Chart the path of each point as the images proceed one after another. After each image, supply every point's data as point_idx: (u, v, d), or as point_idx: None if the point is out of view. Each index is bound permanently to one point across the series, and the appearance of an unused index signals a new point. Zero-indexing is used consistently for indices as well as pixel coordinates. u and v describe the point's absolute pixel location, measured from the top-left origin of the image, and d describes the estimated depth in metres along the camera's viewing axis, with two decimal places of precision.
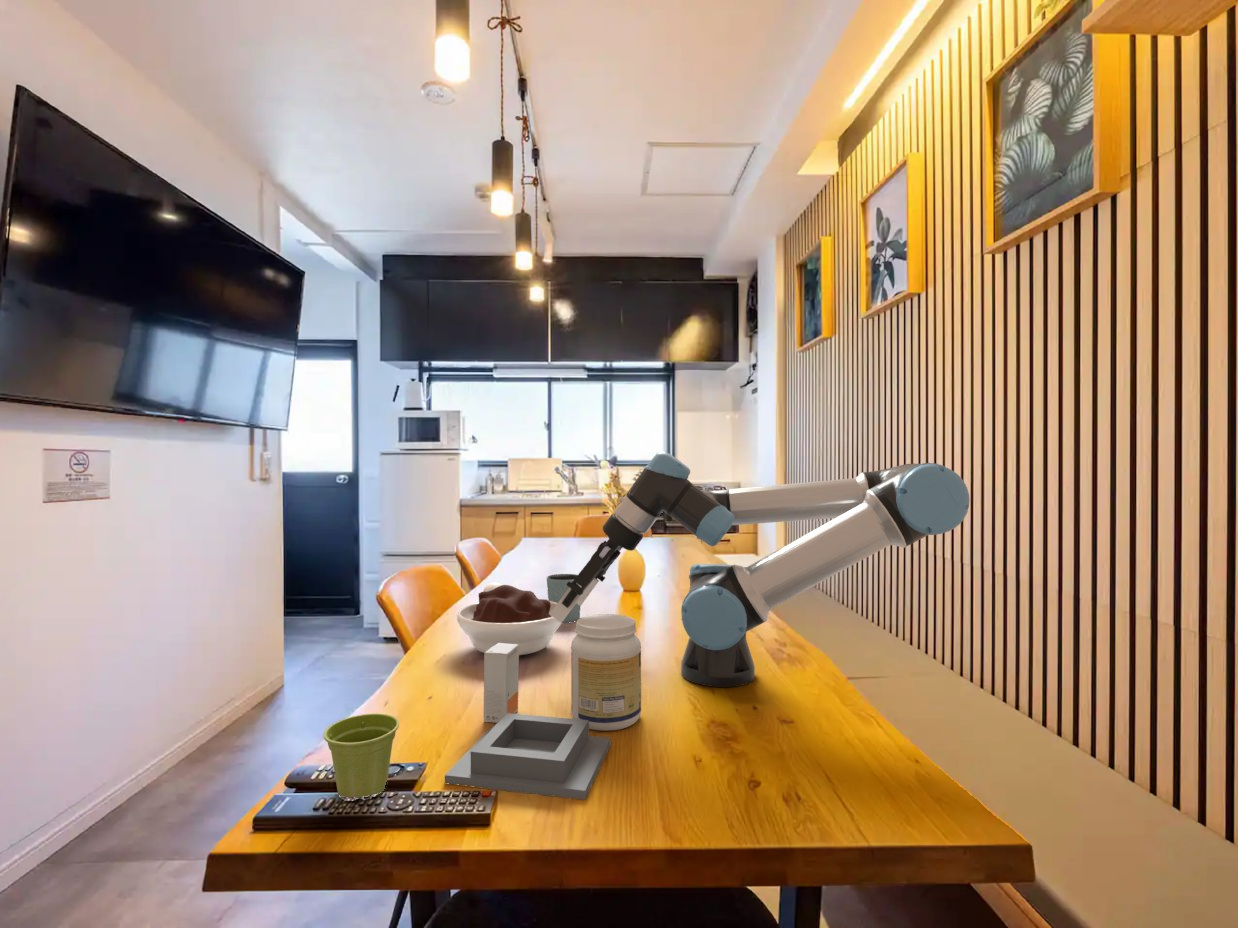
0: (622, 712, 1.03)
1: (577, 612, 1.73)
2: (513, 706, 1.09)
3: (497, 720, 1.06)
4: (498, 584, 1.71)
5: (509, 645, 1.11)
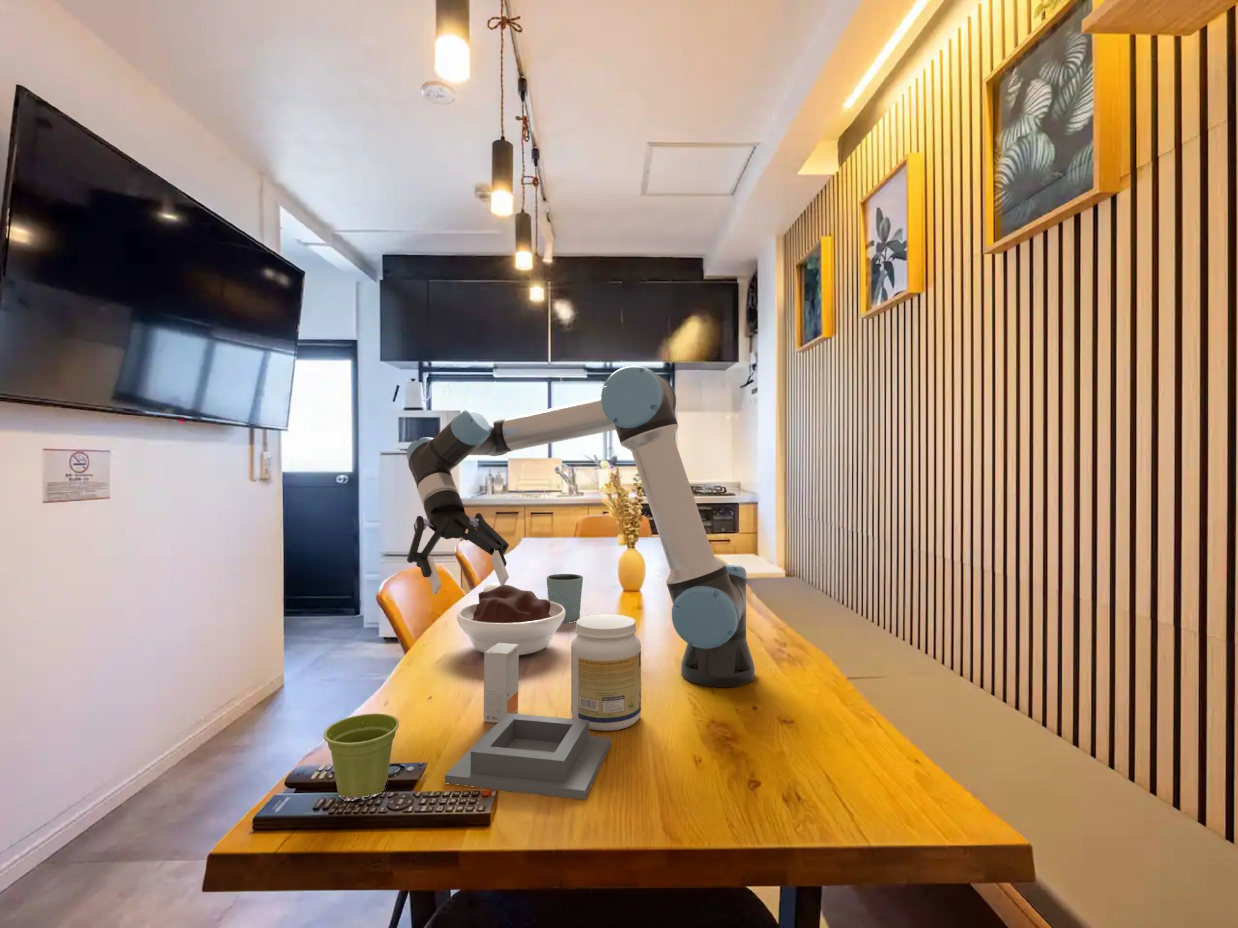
0: (622, 712, 1.03)
1: (577, 612, 1.73)
2: (513, 706, 1.09)
3: (497, 720, 1.06)
4: (498, 584, 1.71)
5: (509, 645, 1.11)
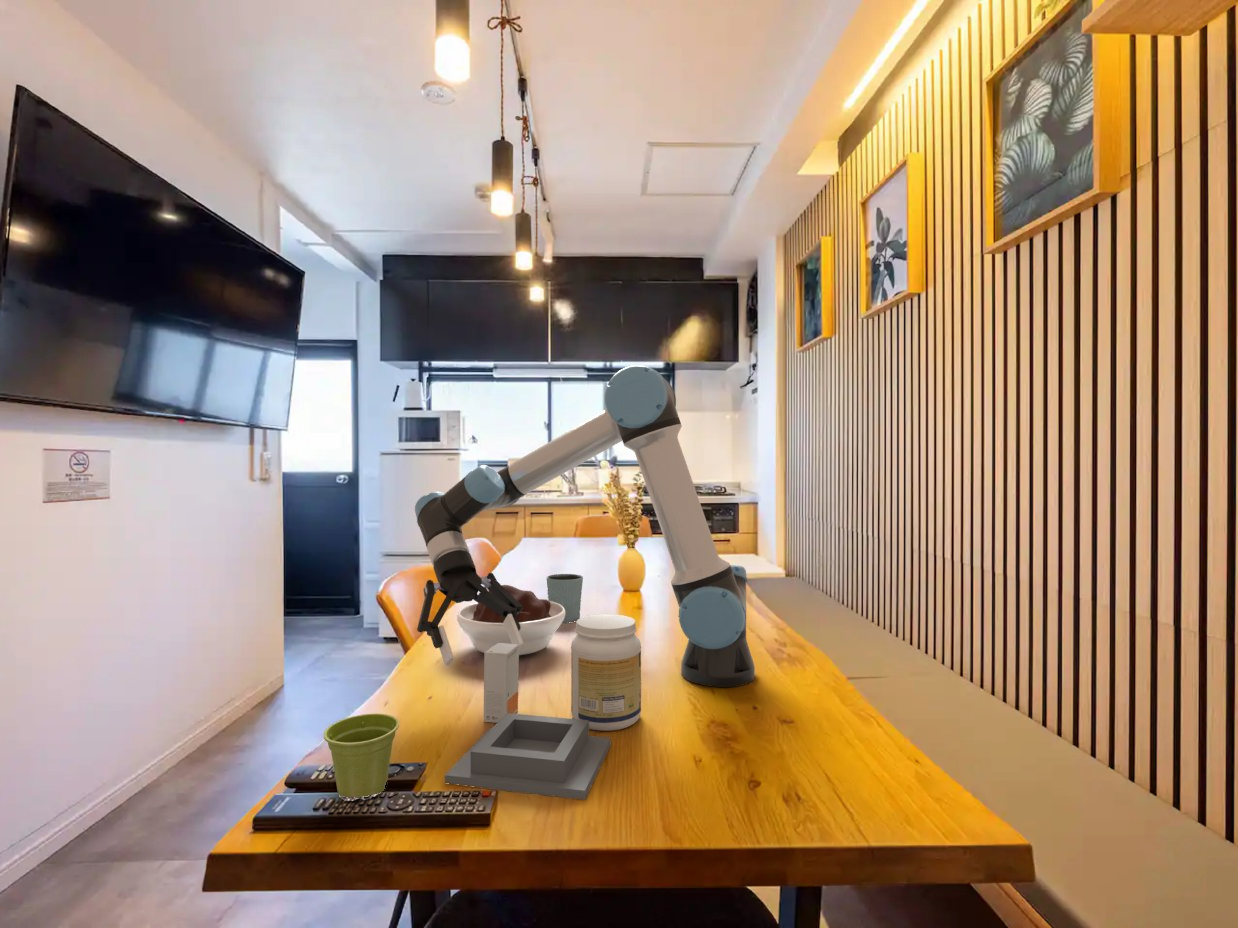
0: (622, 712, 1.03)
1: (577, 612, 1.73)
2: (513, 706, 1.09)
3: (497, 720, 1.06)
4: None
5: (509, 645, 1.11)
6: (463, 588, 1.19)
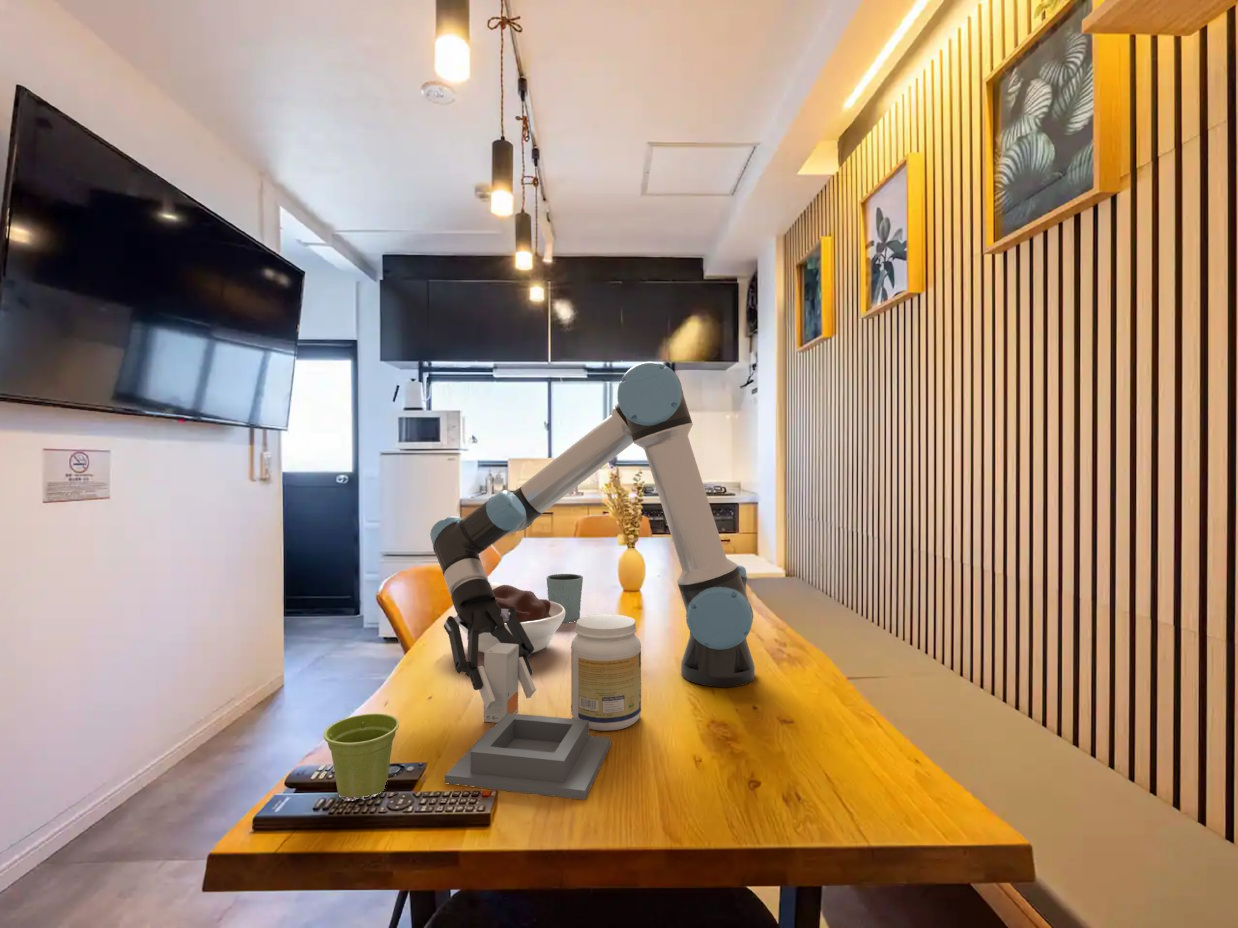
0: (622, 712, 1.03)
1: (577, 612, 1.73)
2: (513, 706, 1.09)
3: (497, 720, 1.06)
4: (498, 584, 1.71)
5: (509, 645, 1.11)
6: (483, 619, 1.14)
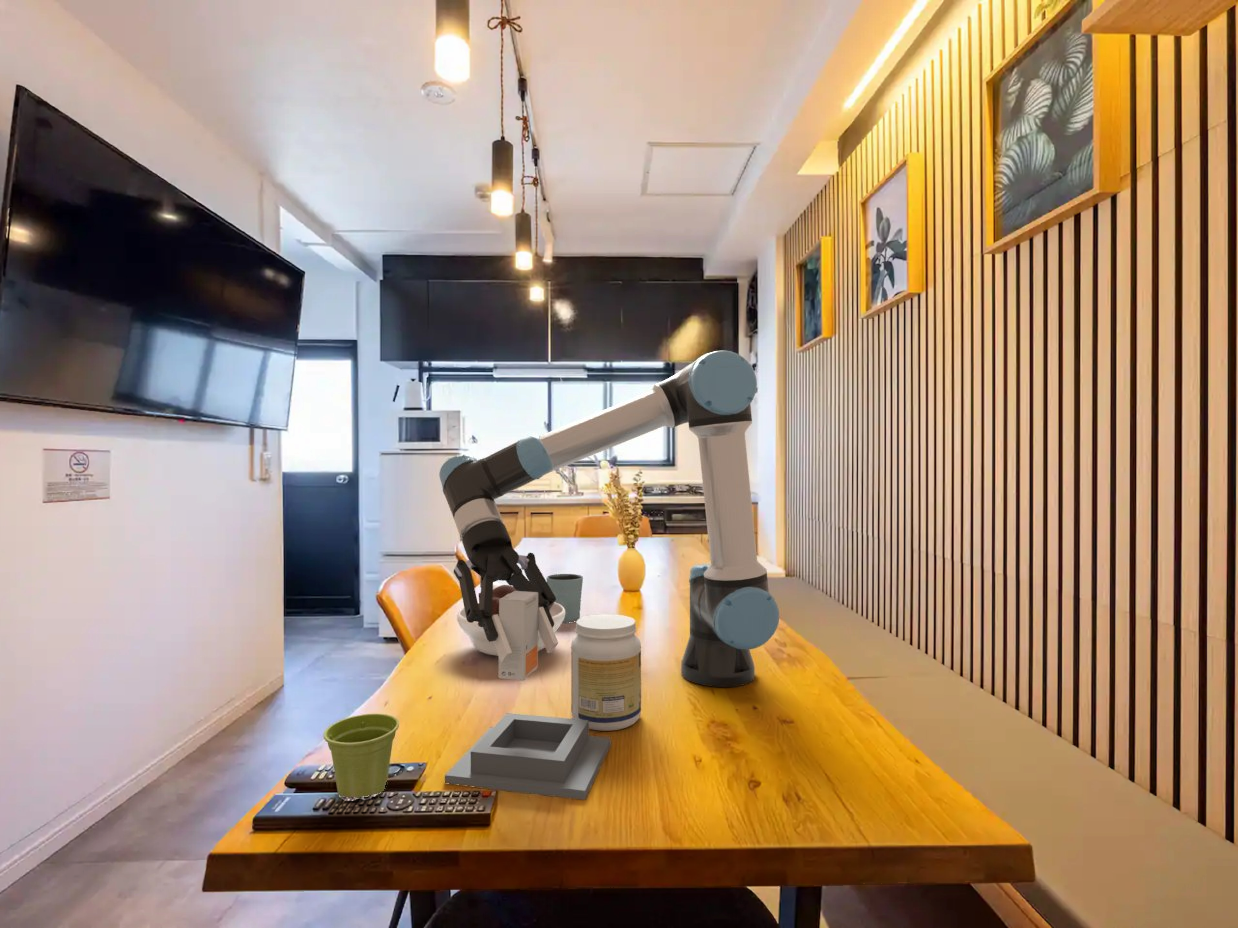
0: (622, 712, 1.03)
1: (577, 612, 1.73)
2: (532, 662, 0.95)
3: (514, 676, 0.93)
4: (498, 584, 1.71)
5: (527, 593, 0.97)
6: (498, 565, 1.00)
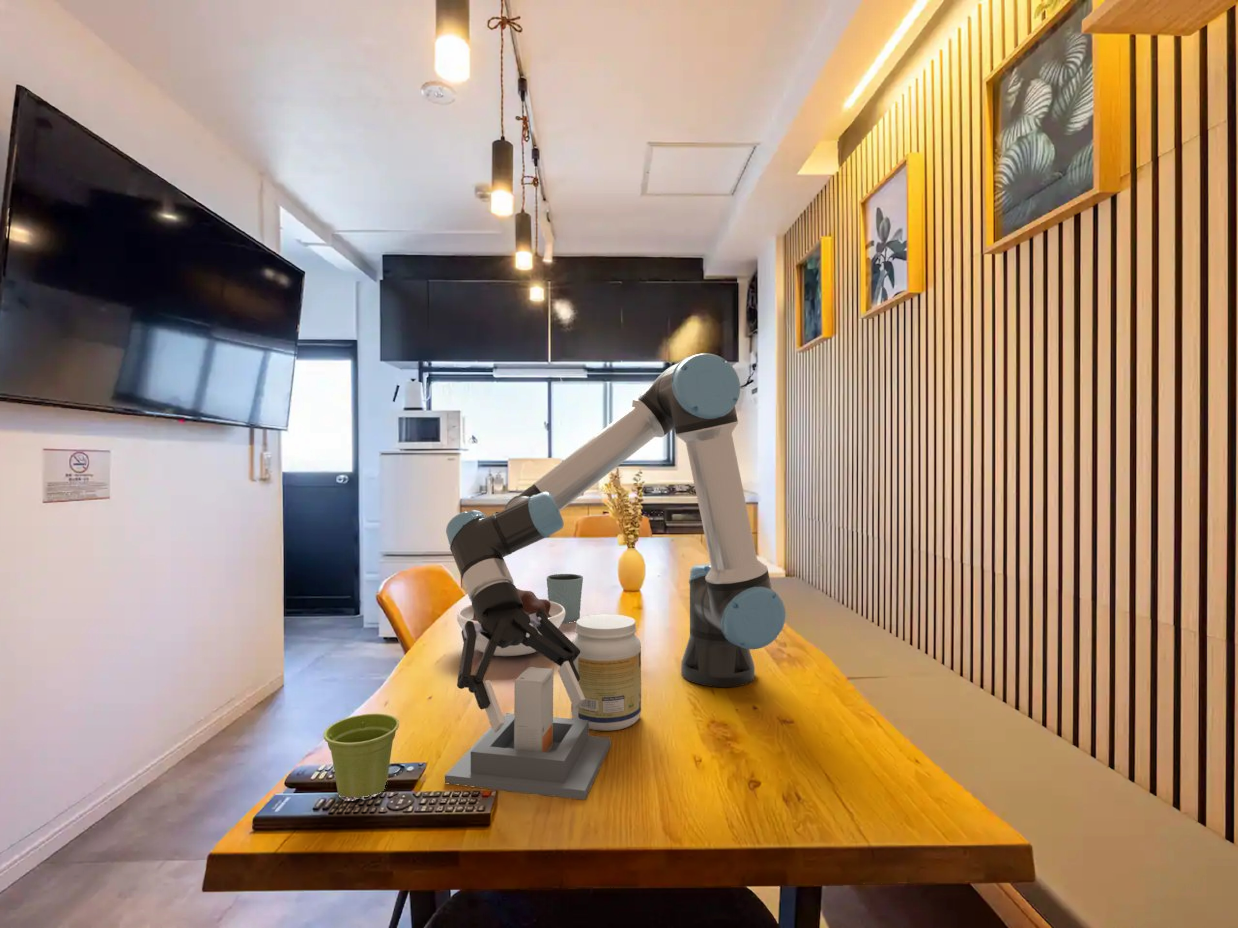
0: (622, 712, 1.03)
1: (577, 612, 1.73)
2: (548, 743, 0.92)
3: None
4: None
5: (542, 670, 0.94)
6: (509, 630, 0.97)
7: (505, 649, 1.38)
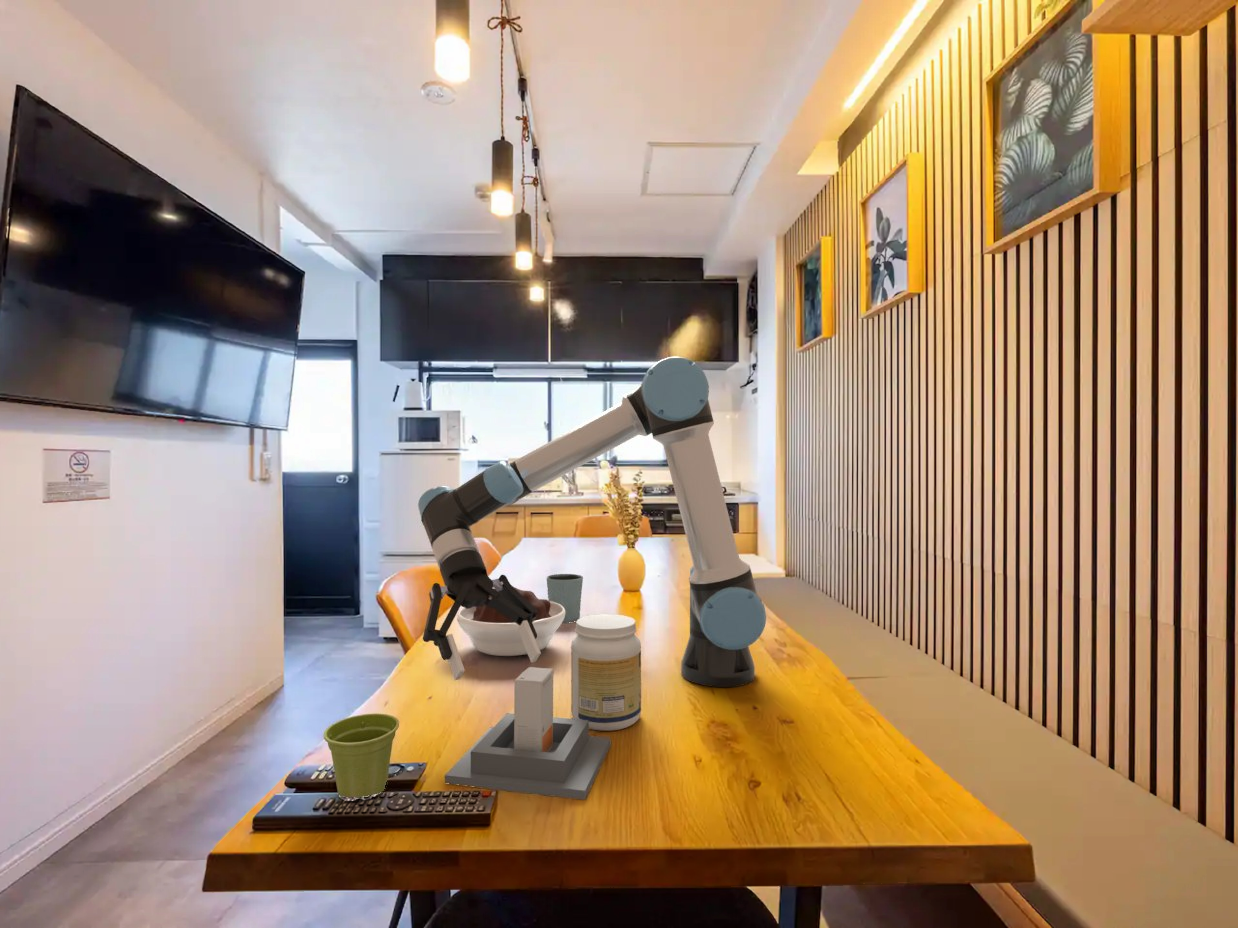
0: (622, 712, 1.03)
1: (577, 612, 1.73)
2: (548, 743, 0.92)
3: None
4: None
5: (542, 670, 0.94)
6: (473, 592, 1.07)
7: (505, 649, 1.38)
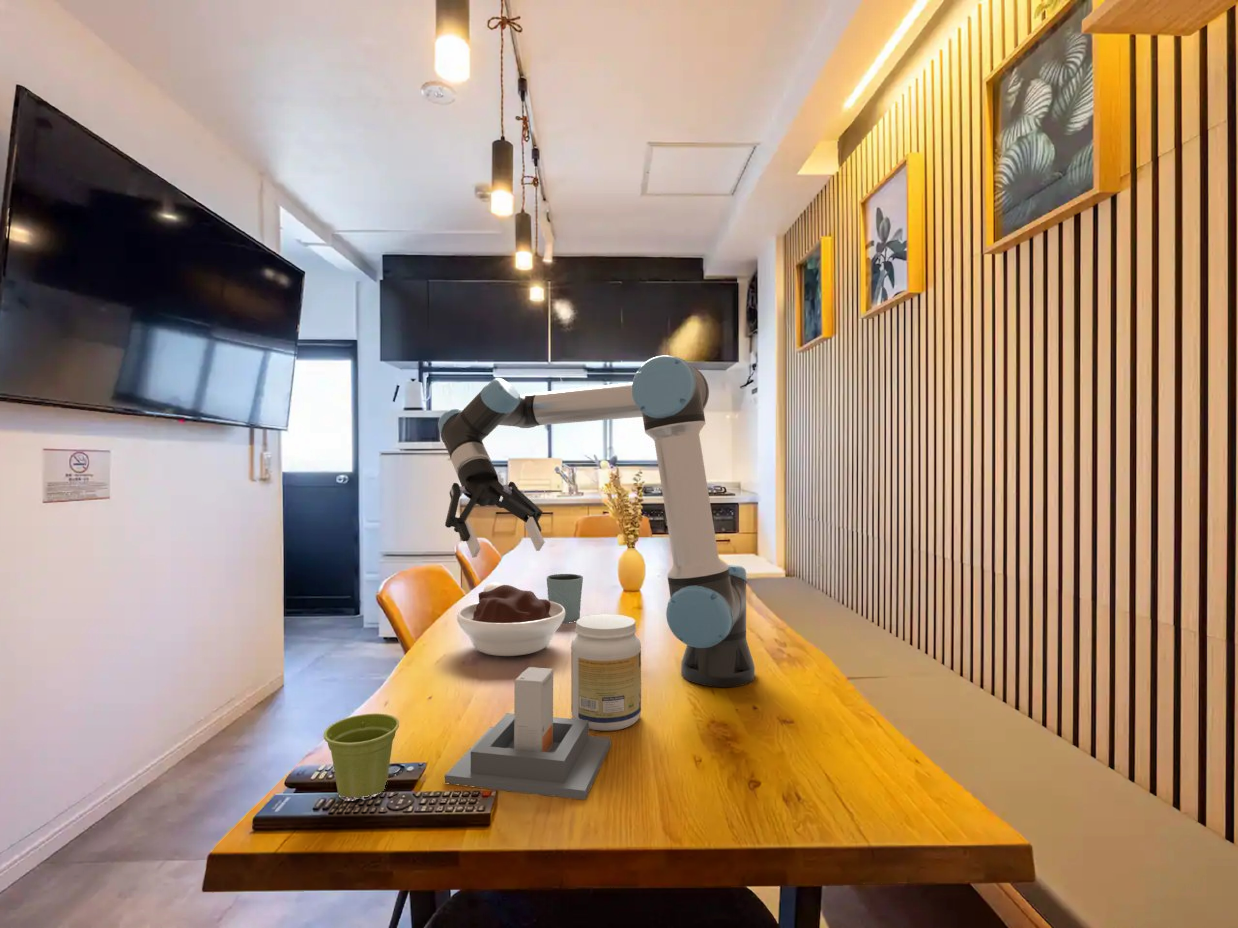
0: (622, 712, 1.03)
1: (577, 612, 1.73)
2: (548, 743, 0.92)
3: None
4: (498, 584, 1.71)
5: (542, 670, 0.94)
6: (487, 492, 1.26)
7: (505, 649, 1.38)
